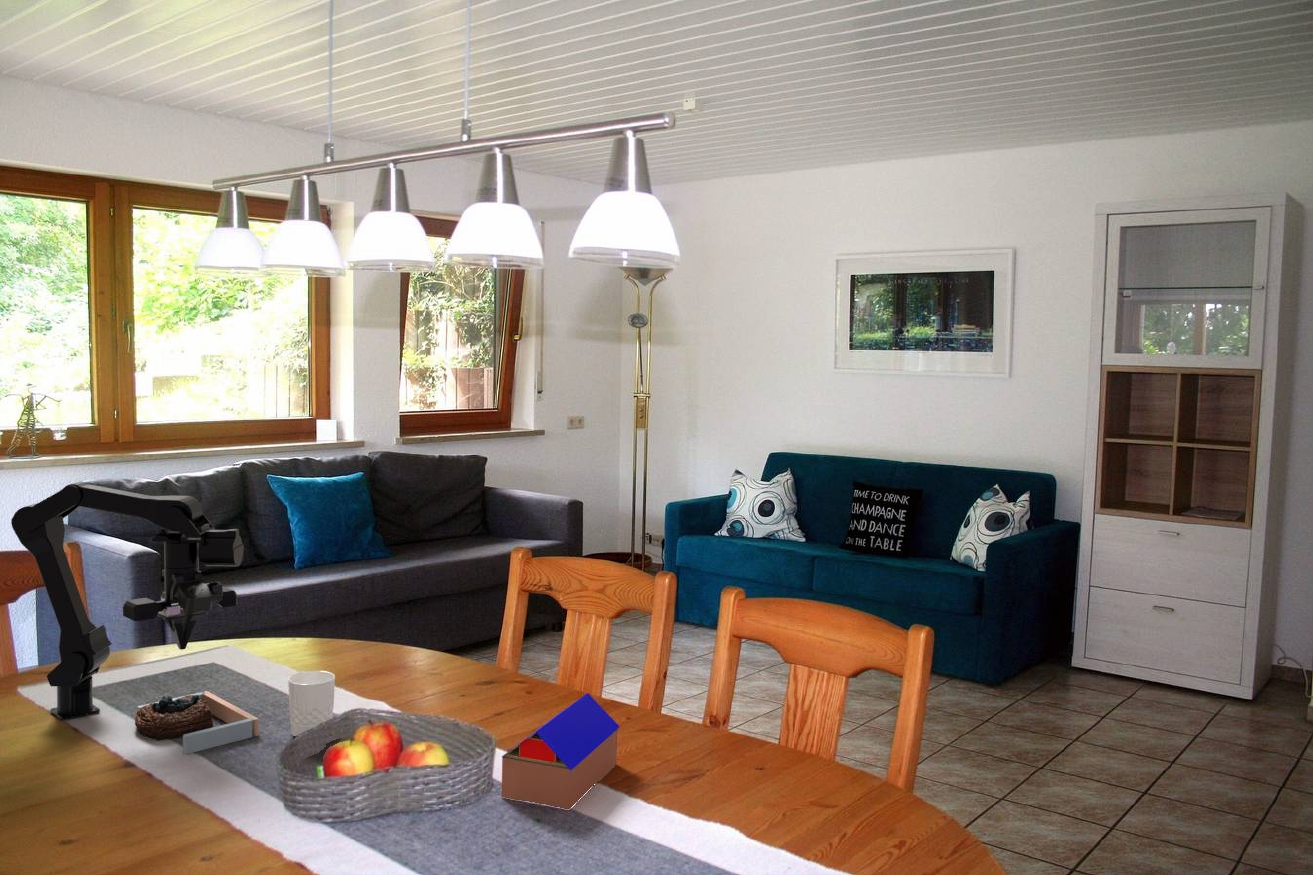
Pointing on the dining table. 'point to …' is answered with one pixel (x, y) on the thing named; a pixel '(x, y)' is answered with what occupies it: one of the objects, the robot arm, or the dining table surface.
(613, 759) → the house
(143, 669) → the dining table surface
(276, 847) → the dining table surface
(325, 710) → the white cup
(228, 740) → the corral
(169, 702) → the pastry
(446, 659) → the dining table surface
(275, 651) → the dining table surface
